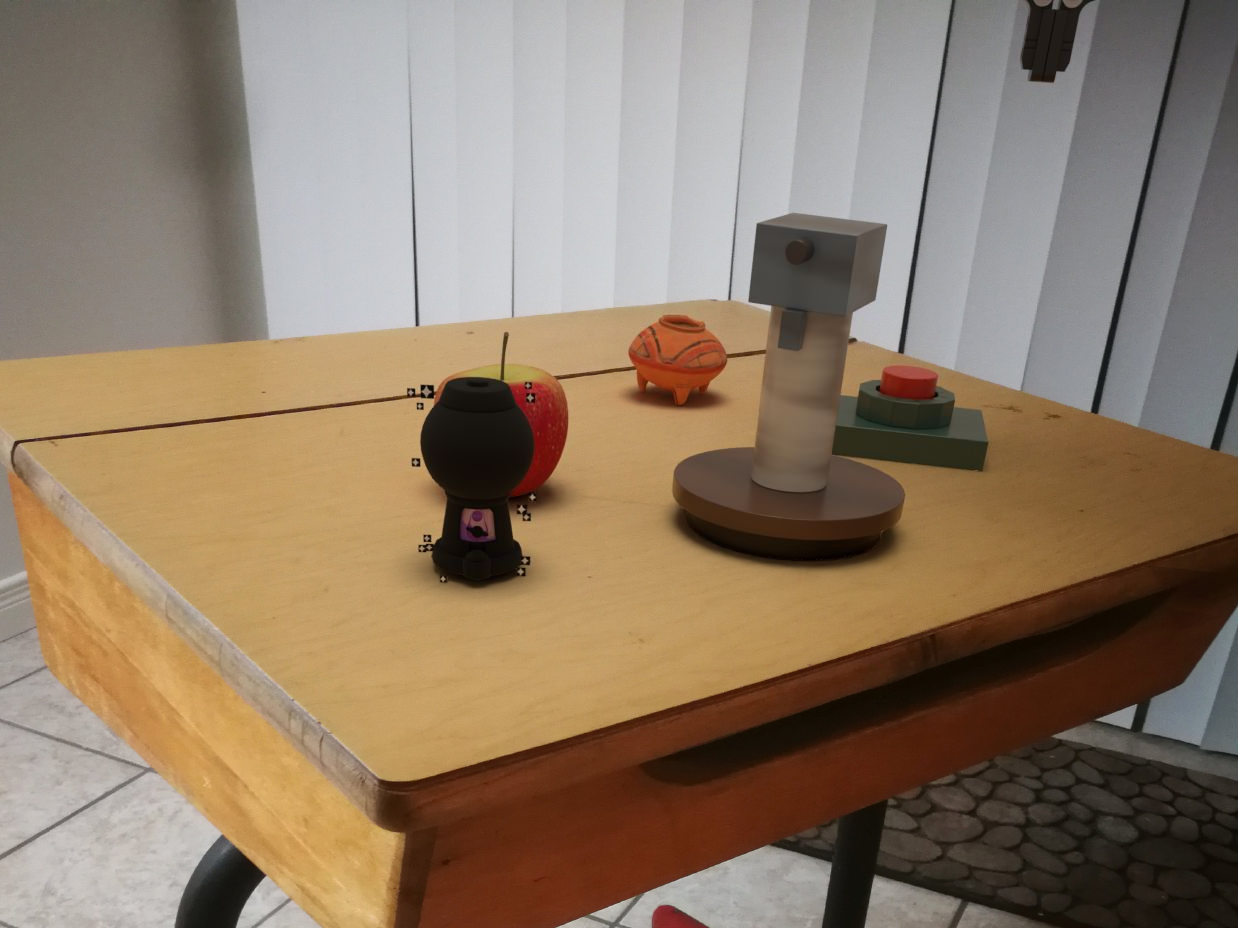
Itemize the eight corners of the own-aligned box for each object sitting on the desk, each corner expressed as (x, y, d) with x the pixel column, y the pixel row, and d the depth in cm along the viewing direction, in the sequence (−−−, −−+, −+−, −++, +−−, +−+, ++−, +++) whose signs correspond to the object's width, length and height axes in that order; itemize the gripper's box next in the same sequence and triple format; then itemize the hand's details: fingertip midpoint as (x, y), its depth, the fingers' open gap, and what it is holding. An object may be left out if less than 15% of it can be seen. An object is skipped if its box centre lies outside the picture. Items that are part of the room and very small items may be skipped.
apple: (441, 515, 76) (438, 340, 71) (429, 471, 83) (425, 309, 78) (576, 513, 78) (583, 342, 73) (553, 470, 85) (558, 312, 80)
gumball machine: (408, 586, 67) (402, 391, 61) (415, 546, 72) (410, 362, 66) (536, 590, 67) (542, 397, 62) (534, 549, 72) (538, 368, 67)
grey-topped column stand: (721, 452, 85) (748, 198, 77) (926, 491, 81) (977, 225, 72) (634, 509, 74) (654, 220, 66) (865, 558, 70) (917, 254, 61)
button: (933, 393, 94) (937, 368, 94) (934, 406, 91) (939, 380, 90) (878, 387, 95) (883, 362, 94) (878, 400, 92) (882, 375, 91)
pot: (675, 375, 108) (696, 296, 104) (730, 420, 104) (755, 340, 100) (599, 381, 104) (618, 299, 99) (654, 428, 100) (676, 344, 95)
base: (881, 506, 83) (885, 486, 82) (879, 571, 73) (883, 550, 72) (699, 485, 84) (701, 465, 83) (672, 546, 74) (674, 524, 73)
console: (975, 438, 98) (987, 385, 96) (982, 472, 90) (994, 415, 88) (820, 421, 99) (827, 368, 97) (813, 453, 92) (821, 397, 90)
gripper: (1225, -275, 70) (1142, 86, 80) (982, -280, 72) (928, 74, 81) (1258, -307, 64) (1163, 89, 73) (990, -311, 66) (931, 76, 75)
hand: (1040, 81), depth 77 cm, fingers closed
